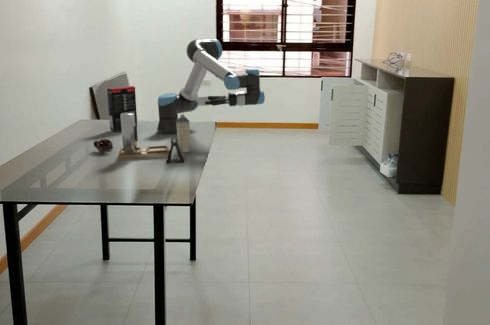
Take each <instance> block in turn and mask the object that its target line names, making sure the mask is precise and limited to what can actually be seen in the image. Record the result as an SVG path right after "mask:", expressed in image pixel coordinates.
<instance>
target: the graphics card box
mask: <svg viewBox="0 0 490 325" xmlns="http://www.w3.org/2000/svg"><path fill="white" fill-rule="evenodd" d="M106 91H107V93H106V94H107V104H108V106H107V107H108V118H109V119H108V120H109V130H110V129H111V130H110V131H112V130H114V131H113V132H117V131H116V130H121V131H122V129H121V118H120V114H123V113H134V116H135V124H137V125H138V118H137V117H138V116H137V114H138V113H137V101H136V87H135V86H133V85H129V86H120V87H112V88H106Z"/></svg>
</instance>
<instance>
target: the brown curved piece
mask: <svg viewBox="0 0 490 325" xmlns="http://www.w3.org/2000/svg"><path fill="white" fill-rule="evenodd" d="M113 145H114V144H113V142H112V141H111V140H110V139H107V138H102V139H100V140H95V141H94V142H93V146H94V147H95V148H96V149H97V151H98V150H99V151H98V152H99V153H102V154H103V153H106V152H109V151H112V150H113V149H114V147H113ZM111 149H112V150H111ZM99 153H98V154H99Z"/></svg>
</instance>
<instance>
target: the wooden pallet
mask: <svg viewBox="0 0 490 325" xmlns="http://www.w3.org/2000/svg"><path fill="white" fill-rule="evenodd" d="M169 151H170V147H169V145H168V144H167V145H155V146H154V145H153V146H146V148H142V147H140V146H139V147H138V146H137V152H131V153H124V151H123V147H122V148H119V150H118V154H117V156H118V161H119V160H120V161H129V160H131V161H132V160H133V161H134V160H143V159H145V160H146V159H156V158H157V159H158V158H168V154H169Z"/></svg>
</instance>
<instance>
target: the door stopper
mask: <svg viewBox="0 0 490 325" xmlns="http://www.w3.org/2000/svg"><path fill="white" fill-rule="evenodd" d="M174 147H175V150H176V153H177V154H178V157H179V158H172V154H173V150H174ZM169 149H170V151H169V154H168V157H166V162H165V163H166V164H181V163H182V164H183V163H185V160H186V158H185V156H184V153H182V151H181V149H180V146H179V144H178V138H177V136H172V138H171V140H170V147H169Z"/></svg>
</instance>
